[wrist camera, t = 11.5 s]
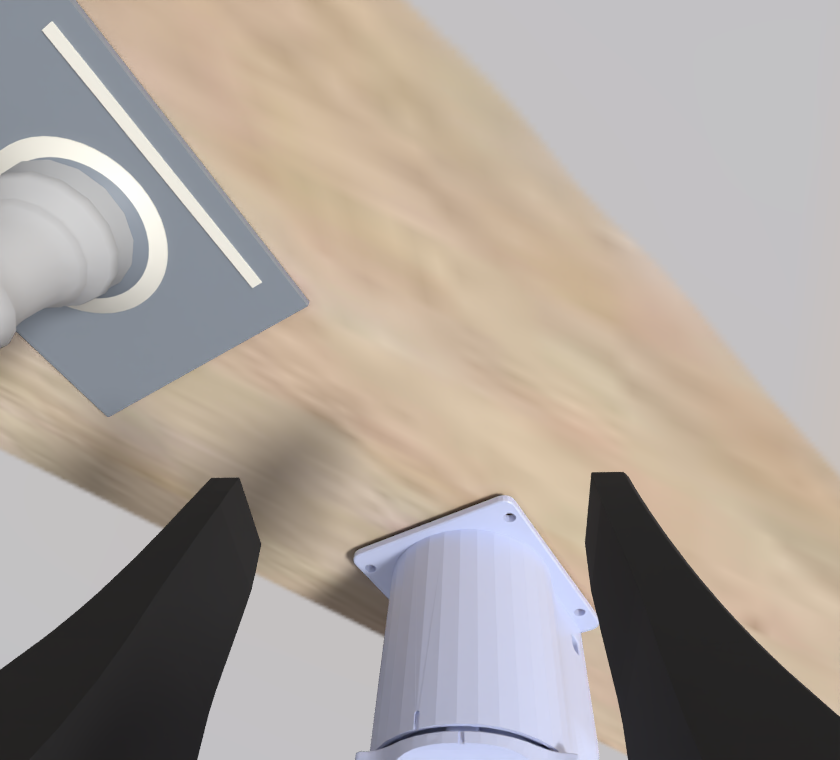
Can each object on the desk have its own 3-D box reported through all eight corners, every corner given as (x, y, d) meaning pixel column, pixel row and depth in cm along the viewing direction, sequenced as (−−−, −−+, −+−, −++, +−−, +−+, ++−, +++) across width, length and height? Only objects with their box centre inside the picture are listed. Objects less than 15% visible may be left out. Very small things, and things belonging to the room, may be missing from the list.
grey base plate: (309, 301, 22) (306, 307, 22) (111, 412, 26) (106, 418, 26) (33, -54, 17) (25, -54, 17) (-171, 146, 20) (-181, 150, 20)
